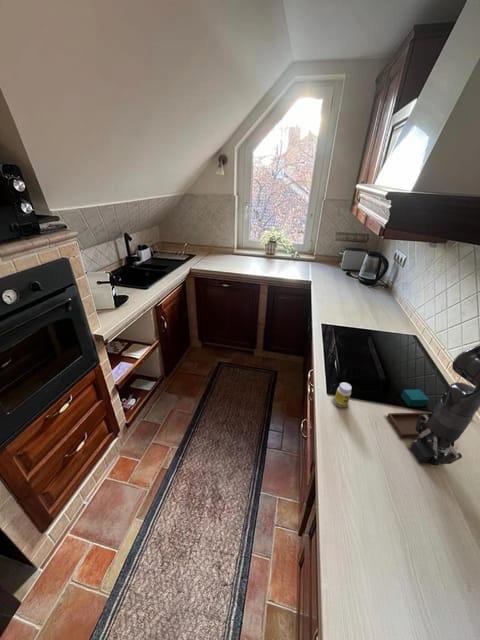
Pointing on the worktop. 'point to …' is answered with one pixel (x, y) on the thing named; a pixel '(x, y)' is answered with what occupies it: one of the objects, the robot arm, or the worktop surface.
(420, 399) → the teal pad
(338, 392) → the supplement bottle
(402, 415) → the pad frame
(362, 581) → the worktop surface
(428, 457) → the black block
